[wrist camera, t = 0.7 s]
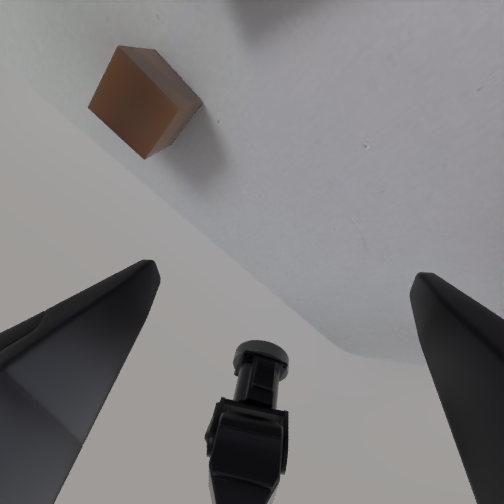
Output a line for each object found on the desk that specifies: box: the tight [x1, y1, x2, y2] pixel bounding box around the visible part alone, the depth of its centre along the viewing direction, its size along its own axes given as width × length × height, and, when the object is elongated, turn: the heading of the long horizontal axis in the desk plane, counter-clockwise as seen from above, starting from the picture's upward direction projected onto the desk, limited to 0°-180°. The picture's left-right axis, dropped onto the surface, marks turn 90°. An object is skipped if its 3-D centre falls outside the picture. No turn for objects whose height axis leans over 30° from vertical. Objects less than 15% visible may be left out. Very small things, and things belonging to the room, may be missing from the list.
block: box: [88, 46, 203, 160], centre depth 16 cm, size 4×4×4 cm
